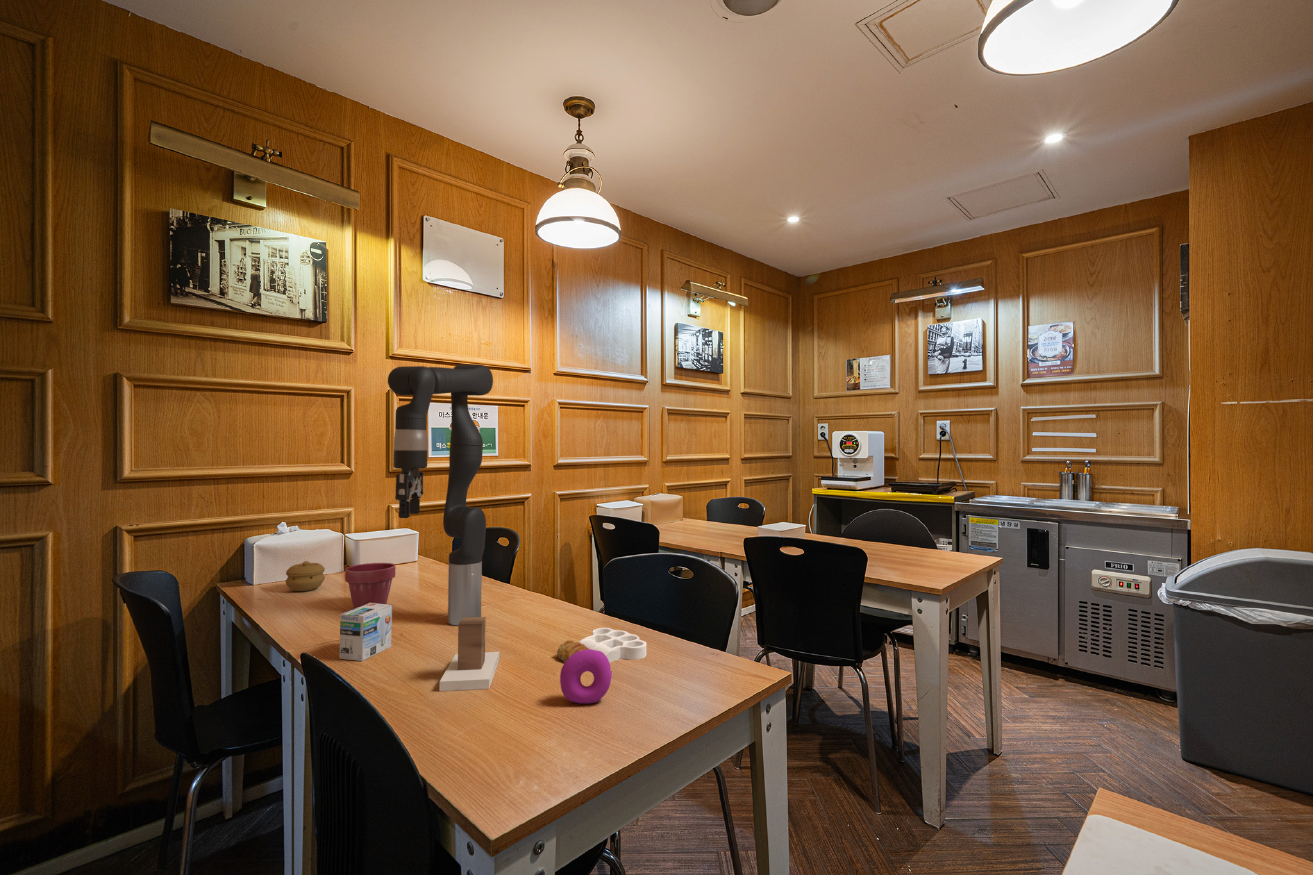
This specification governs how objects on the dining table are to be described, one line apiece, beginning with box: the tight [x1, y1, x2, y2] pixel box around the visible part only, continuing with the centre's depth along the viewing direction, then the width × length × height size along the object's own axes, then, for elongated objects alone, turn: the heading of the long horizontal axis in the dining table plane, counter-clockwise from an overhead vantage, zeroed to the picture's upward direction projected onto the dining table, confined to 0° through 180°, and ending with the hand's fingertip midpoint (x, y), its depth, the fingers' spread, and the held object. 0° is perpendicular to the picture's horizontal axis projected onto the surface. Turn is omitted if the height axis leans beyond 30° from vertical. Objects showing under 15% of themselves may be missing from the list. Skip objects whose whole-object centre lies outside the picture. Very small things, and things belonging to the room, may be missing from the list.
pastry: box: [556, 639, 588, 663], centre depth 135 cm, size 9×7×4 cm
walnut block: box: [457, 616, 486, 670], centre depth 126 cm, size 5×5×10 cm
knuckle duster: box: [578, 627, 647, 664], centre depth 142 cm, size 3×18×15 cm
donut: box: [559, 649, 613, 704], centre depth 113 cm, size 8×9×10 cm
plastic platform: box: [439, 651, 500, 692], centre depth 125 cm, size 16×10×2 cm, turn 8°
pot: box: [285, 560, 326, 592], centre depth 197 cm, size 12×12×10 cm
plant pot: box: [344, 562, 396, 609], centre depth 177 cm, size 14×14×13 cm
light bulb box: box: [339, 603, 393, 662], centre depth 138 cm, size 11×7×11 cm, turn 168°
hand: (409, 515), depth 135 cm, fingers open, 8 cm apart
